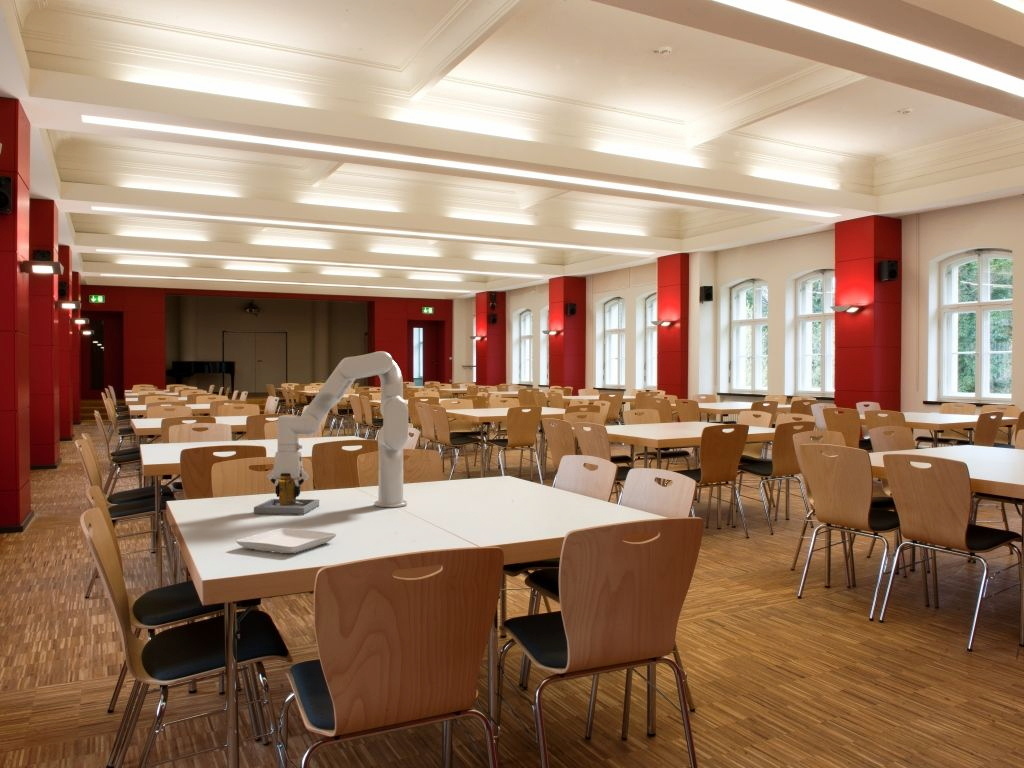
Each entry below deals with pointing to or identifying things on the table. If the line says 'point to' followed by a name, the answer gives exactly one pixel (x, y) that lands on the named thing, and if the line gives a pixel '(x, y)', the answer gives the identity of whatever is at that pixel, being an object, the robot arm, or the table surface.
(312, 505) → the tray
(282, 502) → the condiment
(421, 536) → the table surface
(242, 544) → the salad plate
